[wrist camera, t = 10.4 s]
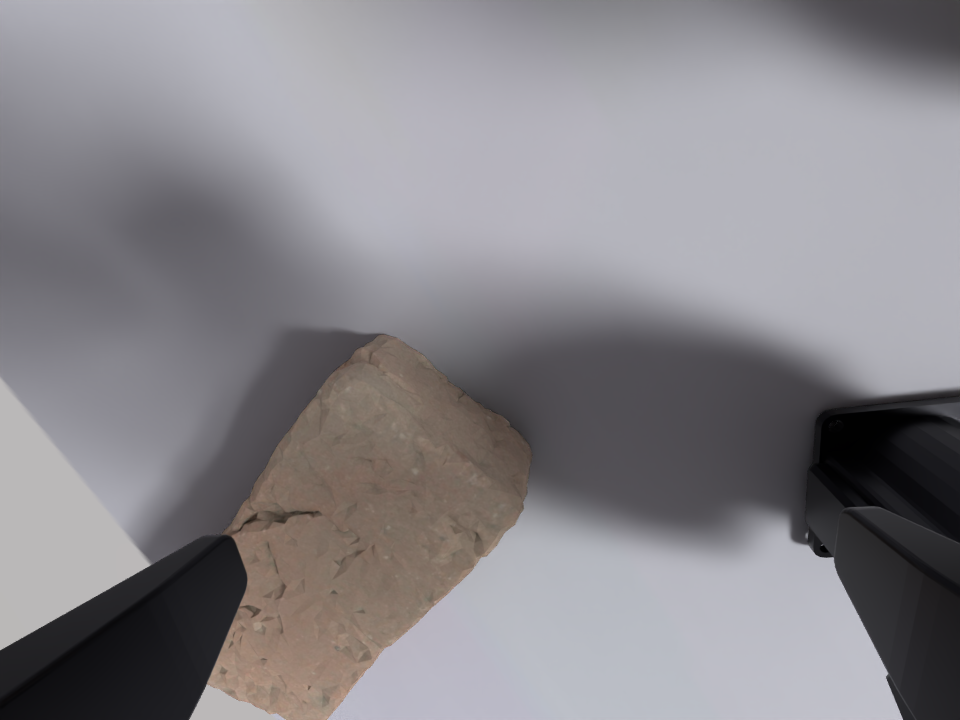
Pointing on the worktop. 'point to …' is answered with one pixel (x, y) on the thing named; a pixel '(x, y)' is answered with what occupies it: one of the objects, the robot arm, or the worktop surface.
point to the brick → (363, 527)
